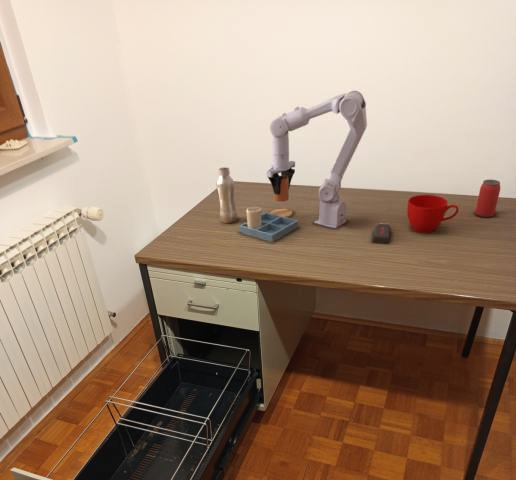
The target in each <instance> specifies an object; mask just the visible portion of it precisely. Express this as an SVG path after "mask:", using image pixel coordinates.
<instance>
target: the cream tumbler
mask: <svg viewBox="0 0 516 480" xmlns="http://www.w3.org/2000/svg"><path fill="white" fill-rule="evenodd" d="M245 212H246V222H247V227H249V228H252V229H258V228H260V227H261V226H262V220H261V214H262V208H261V207H260V206H250V207H247V208H246V211H245Z"/></svg>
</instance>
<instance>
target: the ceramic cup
mask: <svg viewBox="0 0 516 480" xmlns="http://www.w3.org/2000/svg"><path fill="white" fill-rule="evenodd" d="M451 208H452V209H453V208H455V209H456V210H455V212H454V213H453V214H452V215H449V216H446V213H447V212H448V210H450V209H451ZM459 210H460V209H459V207H458V205H456V204H450V205H449V204H448V200H447V199H446V198H444V197H442V196H439V195H432V194H419V195H414V196H410V197H409V199H408V200H407V211H406V212H407V219H408V222H409V224H410V225H411V227H412V228H413V230H414V231H416V232H418V233H423V234H424V233H426V234H427V233H431V232H433V231H435V229H436V228H437V227H439V225H441V223H442V222H444V221H448V220H451V219H454V218H455V217H456V216H457V214H458V213H459ZM445 216H446V217H445Z"/></svg>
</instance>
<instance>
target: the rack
mask: <svg viewBox="0 0 516 480" xmlns="http://www.w3.org/2000/svg"><path fill="white" fill-rule="evenodd" d="M261 220H262V226H261V227H260V228H258V229H252V228H249V227H247V221H245V222H244V223H241V224H240V225H238V229H239V233H240V234H241V233H242V234H245V235H249V236H251V237H255V238H258V239H261V240H265V241H268V242H275V241H277V240H278V239H280V238H282V237H284V236H285V235H287V234H289V233H290V232H292V231H294V230H296V229H297V228H299V220H297V219H294V218H289V217H282V216H278V215H274V214H270V212H263V213H261Z"/></svg>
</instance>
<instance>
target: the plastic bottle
mask: <svg viewBox="0 0 516 480" xmlns="http://www.w3.org/2000/svg"><path fill="white" fill-rule="evenodd" d="M218 172H219V173H218V176H219V177H218V178H217V180H216V190H217V193H218V198H219V219H220V221H221V222H222V223H224V224H234V223H235V222H236V221H237V220H238V212H237V209H236V204H235V182H234V179H233V178H232V177H231V176H230V174H231V172H230V168H229V167H220V168H219V169H218Z"/></svg>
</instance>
